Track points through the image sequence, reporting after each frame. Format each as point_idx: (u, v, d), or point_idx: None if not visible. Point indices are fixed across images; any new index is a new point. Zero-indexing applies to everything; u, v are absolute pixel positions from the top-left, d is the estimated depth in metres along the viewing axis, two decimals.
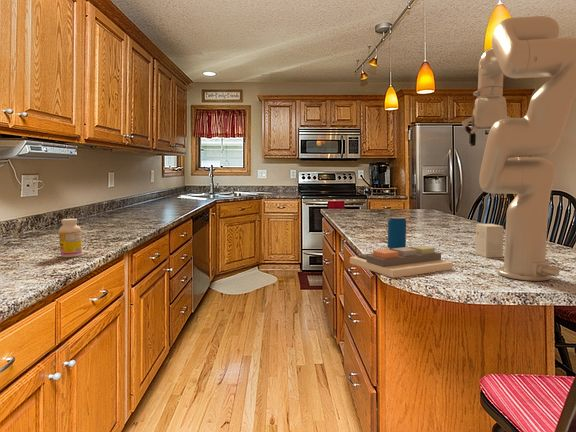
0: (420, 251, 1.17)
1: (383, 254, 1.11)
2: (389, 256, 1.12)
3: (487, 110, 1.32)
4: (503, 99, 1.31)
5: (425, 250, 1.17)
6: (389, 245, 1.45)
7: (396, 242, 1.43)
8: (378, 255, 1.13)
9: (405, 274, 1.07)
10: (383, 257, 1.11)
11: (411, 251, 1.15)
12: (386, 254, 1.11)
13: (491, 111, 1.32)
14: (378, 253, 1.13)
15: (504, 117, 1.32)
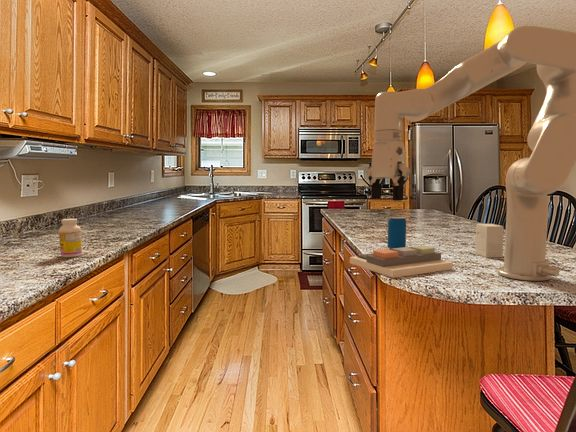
0: (420, 251, 1.17)
1: (383, 254, 1.11)
2: (389, 256, 1.12)
3: None
4: None
5: (425, 250, 1.17)
6: (389, 245, 1.45)
7: (396, 242, 1.43)
8: (378, 255, 1.13)
9: (405, 274, 1.07)
10: (383, 257, 1.11)
11: (411, 251, 1.15)
12: (386, 254, 1.11)
13: None
14: (378, 253, 1.13)
15: None
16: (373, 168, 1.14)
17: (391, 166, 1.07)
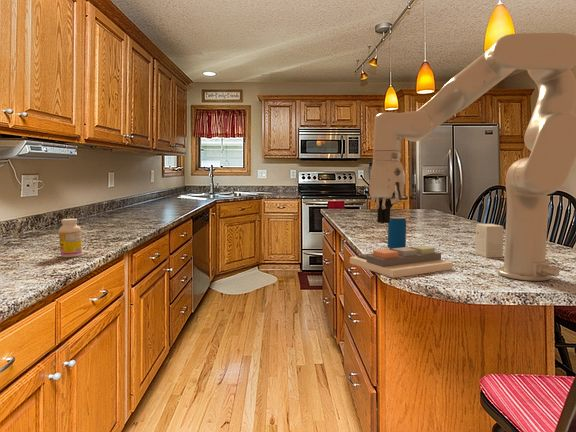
0: (420, 251, 1.17)
1: (383, 254, 1.11)
2: (389, 256, 1.12)
3: None
4: None
5: (425, 250, 1.17)
6: (389, 245, 1.45)
7: (396, 242, 1.43)
8: (378, 255, 1.13)
9: (405, 274, 1.07)
10: (383, 257, 1.11)
11: (411, 251, 1.15)
12: (386, 254, 1.11)
13: None
14: (378, 253, 1.13)
15: None
16: (371, 187, 1.14)
17: (389, 187, 1.08)
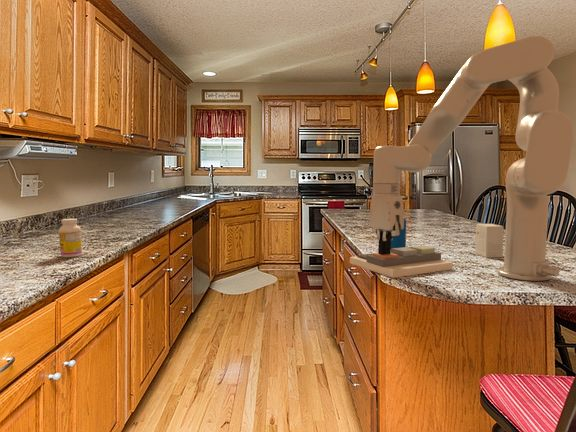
0: (420, 251, 1.17)
1: (383, 257, 1.11)
2: None
3: None
4: None
5: (425, 250, 1.17)
6: None
7: (396, 242, 1.43)
8: None
9: (405, 274, 1.07)
10: None
11: (411, 251, 1.15)
12: (386, 257, 1.11)
13: None
14: (378, 256, 1.13)
15: None
16: (371, 218, 1.15)
17: (389, 220, 1.08)
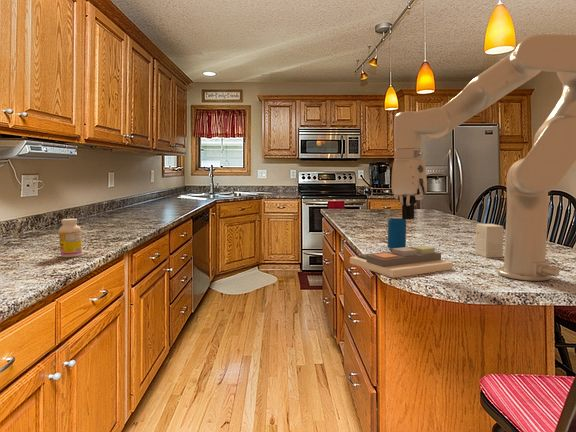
0: (420, 251, 1.17)
1: (383, 258, 1.11)
2: None
3: None
4: None
5: (425, 250, 1.17)
6: (389, 245, 1.45)
7: (396, 242, 1.43)
8: None
9: (405, 274, 1.07)
10: None
11: (411, 251, 1.15)
12: (386, 258, 1.11)
13: None
14: (378, 257, 1.13)
15: None
16: (393, 185, 1.17)
17: (413, 183, 1.10)
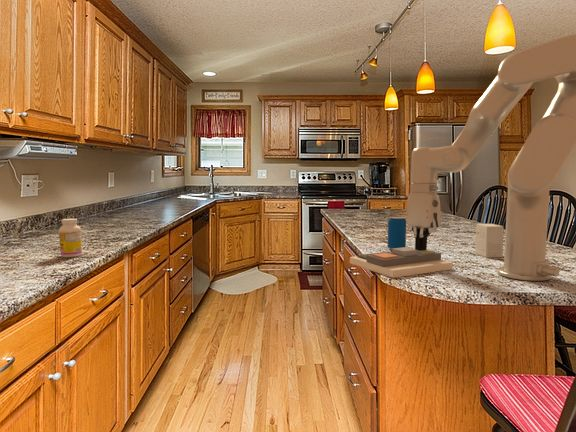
0: None
1: (383, 258, 1.11)
2: None
3: None
4: None
5: (425, 253, 1.17)
6: (389, 245, 1.45)
7: (396, 242, 1.43)
8: None
9: (405, 274, 1.07)
10: None
11: (411, 251, 1.15)
12: (386, 258, 1.11)
13: None
14: (378, 257, 1.13)
15: None
16: (408, 216, 1.21)
17: (427, 217, 1.15)
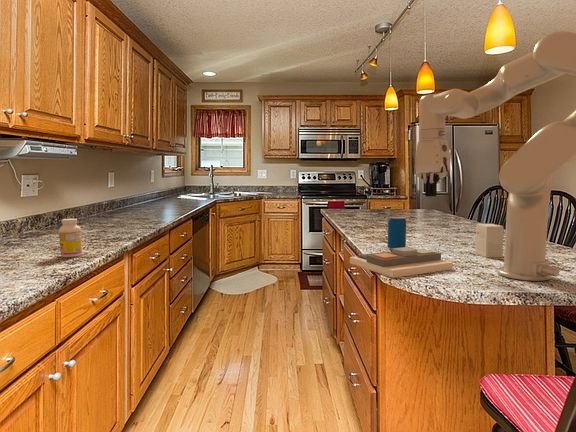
0: None
1: (383, 258, 1.11)
2: None
3: None
4: None
5: None
6: (389, 245, 1.45)
7: (396, 242, 1.43)
8: None
9: (405, 274, 1.07)
10: None
11: (411, 251, 1.15)
12: (386, 258, 1.11)
13: None
14: (378, 257, 1.13)
15: None
16: (417, 164, 1.24)
17: (437, 162, 1.18)
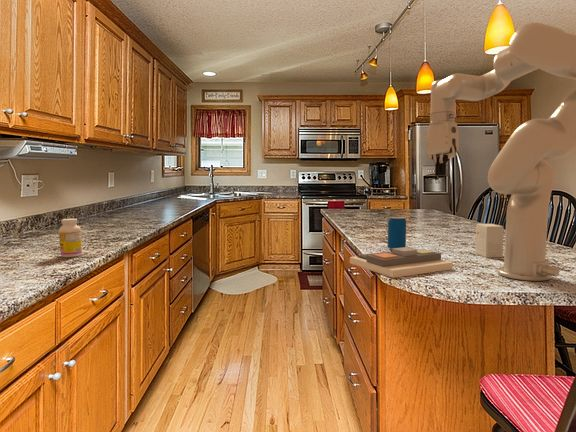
0: None
1: (383, 258, 1.11)
2: None
3: None
4: None
5: None
6: (389, 245, 1.45)
7: (396, 242, 1.43)
8: None
9: (405, 274, 1.07)
10: None
11: (411, 251, 1.15)
12: (386, 258, 1.11)
13: None
14: (378, 257, 1.13)
15: None
16: (428, 145, 1.33)
17: (446, 142, 1.26)
